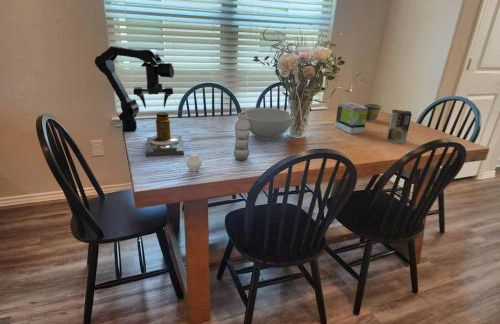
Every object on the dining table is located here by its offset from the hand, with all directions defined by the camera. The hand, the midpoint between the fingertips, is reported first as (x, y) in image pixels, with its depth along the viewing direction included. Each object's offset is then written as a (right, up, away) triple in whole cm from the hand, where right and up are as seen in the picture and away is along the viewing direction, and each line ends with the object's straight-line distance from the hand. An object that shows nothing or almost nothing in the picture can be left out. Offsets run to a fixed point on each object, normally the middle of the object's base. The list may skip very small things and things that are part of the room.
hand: (154, 107), depth 164 cm
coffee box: (+126, -17, +8) cm, 127 cm away
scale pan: (+8, -18, -13) cm, 24 cm away
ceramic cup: (+126, 0, +46) cm, 134 cm away
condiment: (+8, -17, -14) cm, 24 cm away
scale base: (+9, -21, -15) cm, 28 cm away
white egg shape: (+26, -31, -37) cm, 55 cm away
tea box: (+106, -9, +24) cm, 109 cm away
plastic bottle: (+45, -26, -24) cm, 57 cm away
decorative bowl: (+57, -14, +6) cm, 59 cm away
